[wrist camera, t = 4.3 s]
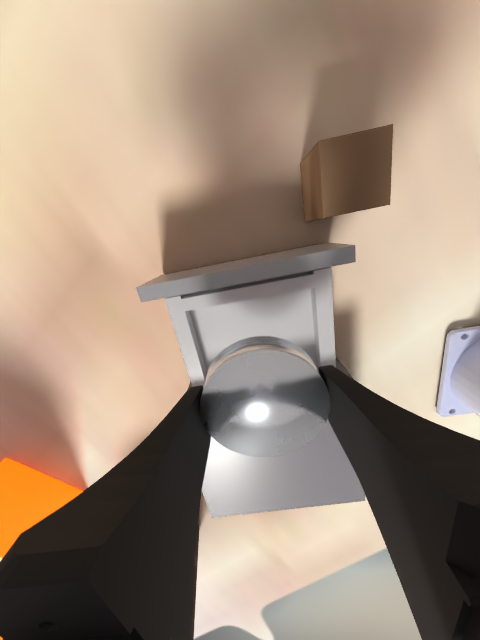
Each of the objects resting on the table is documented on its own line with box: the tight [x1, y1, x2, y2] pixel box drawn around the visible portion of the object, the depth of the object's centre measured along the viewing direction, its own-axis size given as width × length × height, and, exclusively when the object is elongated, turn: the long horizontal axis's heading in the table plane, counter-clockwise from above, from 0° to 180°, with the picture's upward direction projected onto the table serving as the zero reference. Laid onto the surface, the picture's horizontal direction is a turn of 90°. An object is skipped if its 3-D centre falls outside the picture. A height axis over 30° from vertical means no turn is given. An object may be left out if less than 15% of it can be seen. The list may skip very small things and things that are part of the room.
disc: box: [200, 336, 330, 457], centre depth 10 cm, size 6×6×2 cm
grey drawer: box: [136, 243, 355, 388], centre depth 15 cm, size 11×10×4 cm
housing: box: [187, 358, 365, 518], centre depth 18 cm, size 12×10×4 cm
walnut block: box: [300, 124, 393, 222], centre depth 12 cm, size 3×3×4 cm
